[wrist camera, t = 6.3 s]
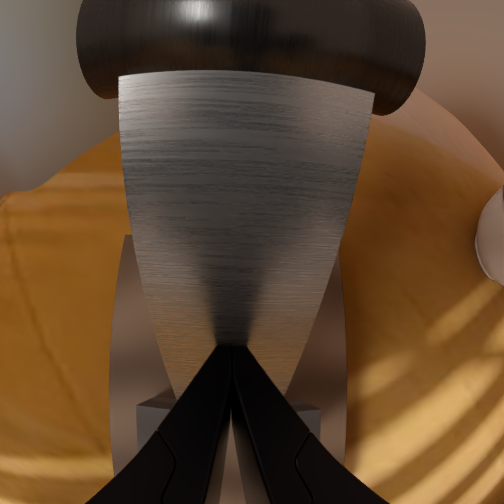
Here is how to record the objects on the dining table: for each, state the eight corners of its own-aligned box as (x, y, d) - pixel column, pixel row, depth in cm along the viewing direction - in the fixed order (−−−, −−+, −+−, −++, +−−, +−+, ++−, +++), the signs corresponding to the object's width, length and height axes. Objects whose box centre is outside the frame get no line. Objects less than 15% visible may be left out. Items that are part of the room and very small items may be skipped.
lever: (282, 432, 11) (428, -16, 2) (173, 430, 11) (88, -44, 1) (277, 385, 13) (362, 7, 4) (178, 382, 13) (142, -9, 4)
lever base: (329, 493, 13) (376, 540, 6) (127, 490, 12) (85, 538, 5) (327, 250, 20) (373, 195, 13) (134, 242, 19) (96, 182, 12)
